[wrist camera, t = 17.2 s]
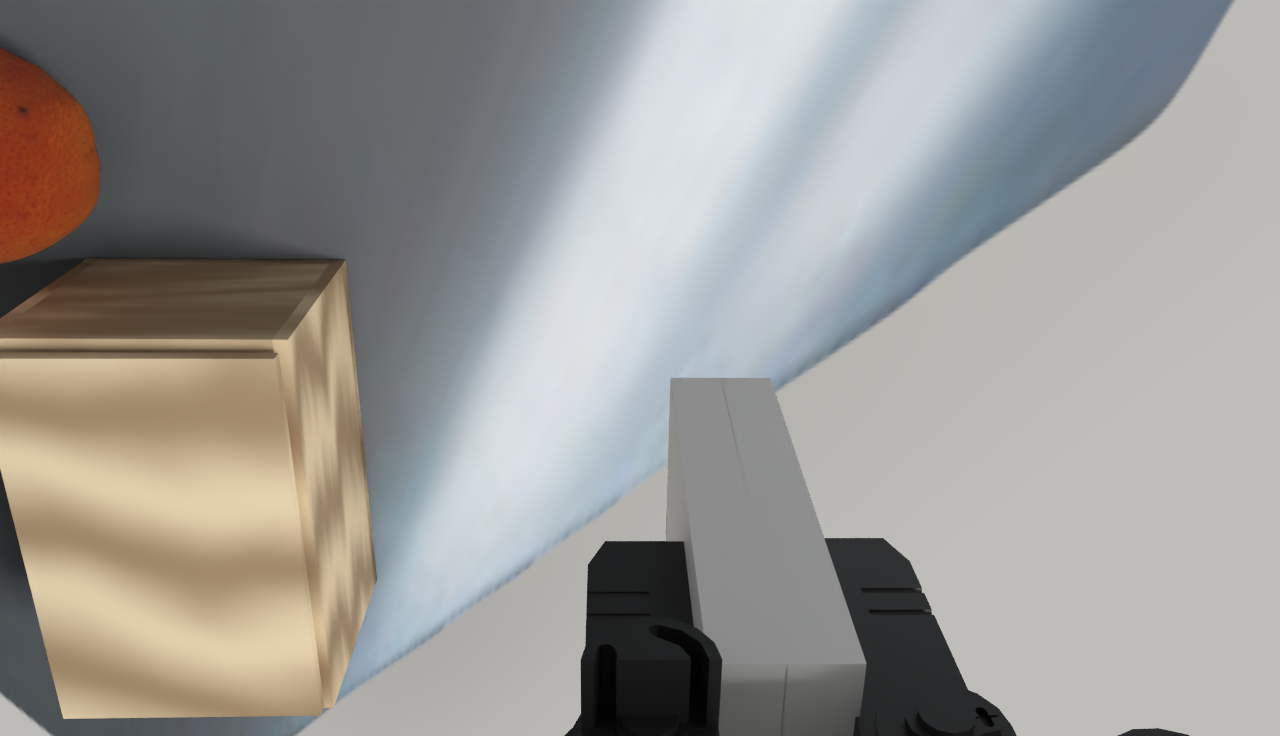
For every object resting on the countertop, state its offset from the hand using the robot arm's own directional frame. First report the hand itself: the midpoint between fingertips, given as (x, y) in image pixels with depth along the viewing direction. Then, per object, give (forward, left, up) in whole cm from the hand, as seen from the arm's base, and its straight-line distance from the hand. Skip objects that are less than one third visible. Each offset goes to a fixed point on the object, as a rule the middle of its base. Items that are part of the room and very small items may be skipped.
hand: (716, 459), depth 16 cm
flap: (+17, -20, -24) cm, 36 cm away
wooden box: (+17, -20, -34) cm, 43 cm away
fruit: (+2, -28, -35) cm, 44 cm away
